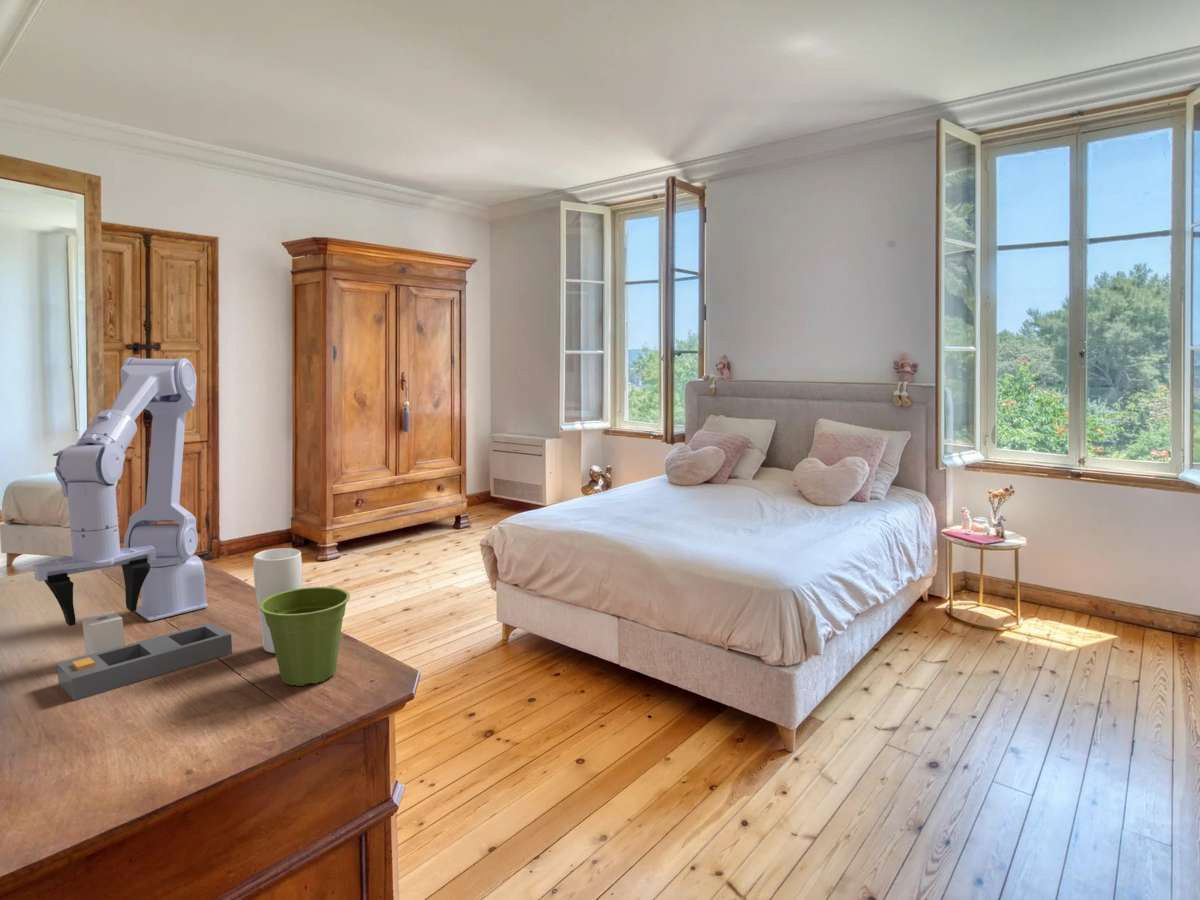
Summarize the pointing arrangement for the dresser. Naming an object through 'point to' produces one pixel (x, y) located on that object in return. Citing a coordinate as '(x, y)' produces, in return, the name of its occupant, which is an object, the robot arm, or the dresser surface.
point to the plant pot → (306, 631)
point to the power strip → (142, 660)
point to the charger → (103, 632)
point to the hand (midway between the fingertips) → (101, 616)
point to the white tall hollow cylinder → (275, 580)
